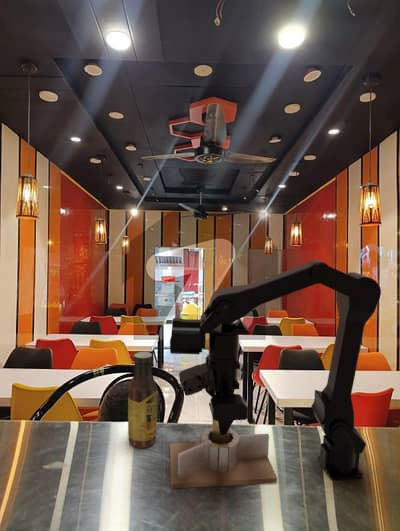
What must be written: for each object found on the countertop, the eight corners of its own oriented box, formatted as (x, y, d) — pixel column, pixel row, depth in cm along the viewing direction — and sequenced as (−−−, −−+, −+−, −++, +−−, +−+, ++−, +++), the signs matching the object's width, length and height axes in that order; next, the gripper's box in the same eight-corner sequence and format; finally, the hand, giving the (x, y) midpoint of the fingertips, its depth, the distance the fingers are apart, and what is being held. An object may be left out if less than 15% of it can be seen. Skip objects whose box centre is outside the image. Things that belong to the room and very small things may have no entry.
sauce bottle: (151, 451, 77) (151, 362, 74) (123, 447, 78) (122, 359, 76) (160, 433, 83) (161, 351, 81) (134, 430, 85) (134, 348, 82)
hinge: (262, 445, 78) (263, 424, 78) (275, 475, 69) (276, 451, 69) (176, 449, 76) (176, 427, 76) (177, 480, 67) (178, 455, 67)
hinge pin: (229, 431, 75) (231, 394, 74) (234, 444, 71) (235, 406, 70) (207, 431, 75) (208, 395, 74) (210, 445, 70) (212, 407, 69)
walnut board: (260, 443, 81) (260, 439, 80) (276, 482, 69) (277, 477, 69) (169, 447, 78) (169, 443, 78) (171, 488, 67) (171, 483, 67)
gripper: (179, 338, 79) (179, 406, 81) (184, 376, 60) (183, 462, 63) (230, 338, 80) (228, 404, 82) (250, 374, 62) (247, 458, 64)
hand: (221, 428), depth 73 cm, fingers closed on hinge pin, 4 cm apart
